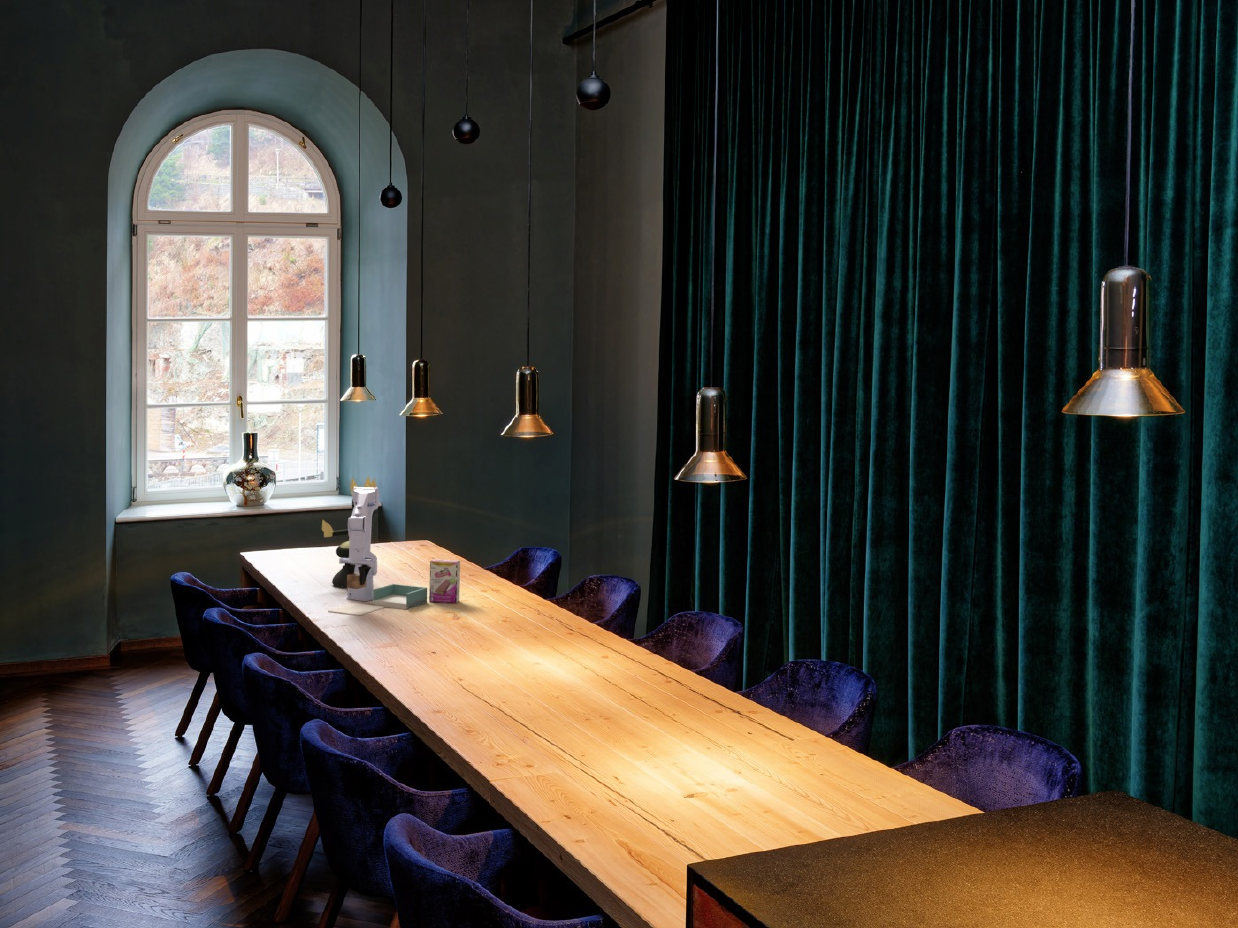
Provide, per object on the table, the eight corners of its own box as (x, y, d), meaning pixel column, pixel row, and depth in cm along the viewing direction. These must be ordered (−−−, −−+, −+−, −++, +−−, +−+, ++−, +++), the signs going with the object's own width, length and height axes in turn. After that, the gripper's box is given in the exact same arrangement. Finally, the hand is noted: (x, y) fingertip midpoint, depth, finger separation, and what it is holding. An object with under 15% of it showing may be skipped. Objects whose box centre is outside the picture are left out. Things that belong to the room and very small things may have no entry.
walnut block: (347, 587, 447) (347, 574, 446) (356, 585, 452) (356, 572, 452) (357, 589, 445) (357, 575, 444) (366, 586, 450) (366, 573, 450)
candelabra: (319, 586, 491) (320, 477, 487) (351, 577, 512) (352, 473, 508) (358, 591, 484) (359, 480, 480) (388, 582, 505) (389, 476, 500)
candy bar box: (428, 602, 466) (429, 560, 465) (432, 599, 471) (432, 558, 470) (456, 603, 465) (457, 562, 464) (459, 601, 470) (460, 560, 469)
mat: (328, 611, 444) (328, 610, 444) (353, 603, 459) (353, 602, 459) (359, 615, 439) (359, 614, 439) (384, 607, 454) (384, 606, 454)
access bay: (373, 605, 458) (373, 589, 458) (392, 598, 471) (393, 583, 470) (408, 609, 452) (408, 593, 452) (427, 602, 465) (427, 587, 465)
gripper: (334, 548, 446) (334, 583, 447) (367, 551, 441) (367, 587, 442) (345, 545, 453) (345, 580, 454) (378, 548, 447) (377, 584, 448)
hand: (356, 583), depth 448 cm, fingers closed on walnut block, 4 cm apart
